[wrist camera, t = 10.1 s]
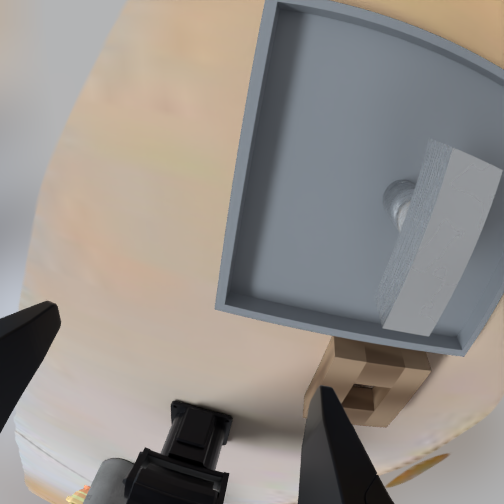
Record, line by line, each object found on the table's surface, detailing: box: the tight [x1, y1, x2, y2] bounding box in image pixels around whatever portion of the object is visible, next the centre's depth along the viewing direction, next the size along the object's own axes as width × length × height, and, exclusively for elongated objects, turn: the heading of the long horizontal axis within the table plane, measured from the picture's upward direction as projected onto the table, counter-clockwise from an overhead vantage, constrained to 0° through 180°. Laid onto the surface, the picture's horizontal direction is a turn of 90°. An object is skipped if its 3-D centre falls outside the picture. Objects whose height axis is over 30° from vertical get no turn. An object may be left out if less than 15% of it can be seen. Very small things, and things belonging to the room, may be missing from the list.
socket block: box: [303, 336, 431, 427], centre depth 23 cm, size 8×8×2 cm
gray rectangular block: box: [375, 138, 503, 336], centre depth 14 cm, size 8×2×7 cm, turn 170°
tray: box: [215, 0, 504, 357], centre depth 17 cm, size 19×19×2 cm
